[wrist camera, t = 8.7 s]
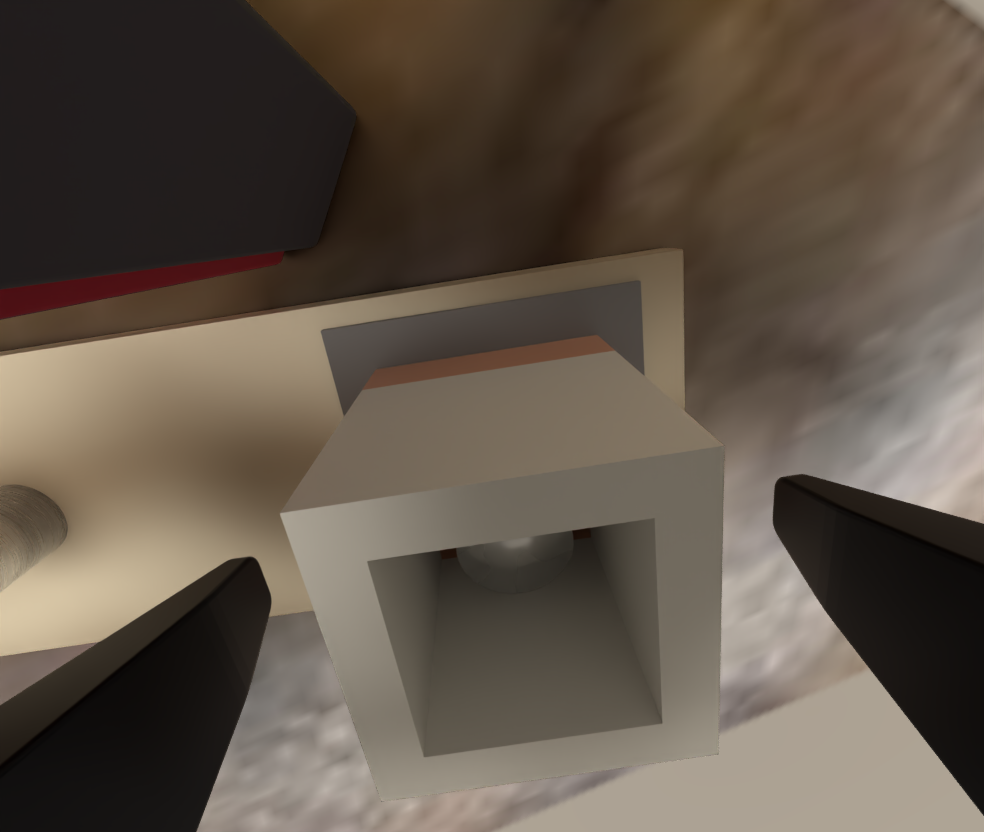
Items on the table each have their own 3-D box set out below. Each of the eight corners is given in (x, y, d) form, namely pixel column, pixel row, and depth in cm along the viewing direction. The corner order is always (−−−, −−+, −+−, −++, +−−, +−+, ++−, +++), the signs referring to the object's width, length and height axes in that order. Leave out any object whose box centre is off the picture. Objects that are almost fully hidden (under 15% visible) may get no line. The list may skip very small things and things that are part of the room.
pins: (546, 478, 13) (578, 584, 9) (5, 558, 13) (-188, 696, 9) (537, 403, 12) (568, 486, 8) (-36, 490, 12) (-262, 609, 8)
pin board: (672, 534, 15) (689, 560, 13) (-31, 637, 15) (-71, 671, 14) (666, 246, 12) (687, 249, 11) (-203, 383, 12) (-272, 399, 11)
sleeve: (611, 524, 13) (719, 754, 7) (420, 553, 13) (380, 801, 7) (597, 335, 11) (724, 445, 6) (375, 369, 11) (279, 513, 6)
